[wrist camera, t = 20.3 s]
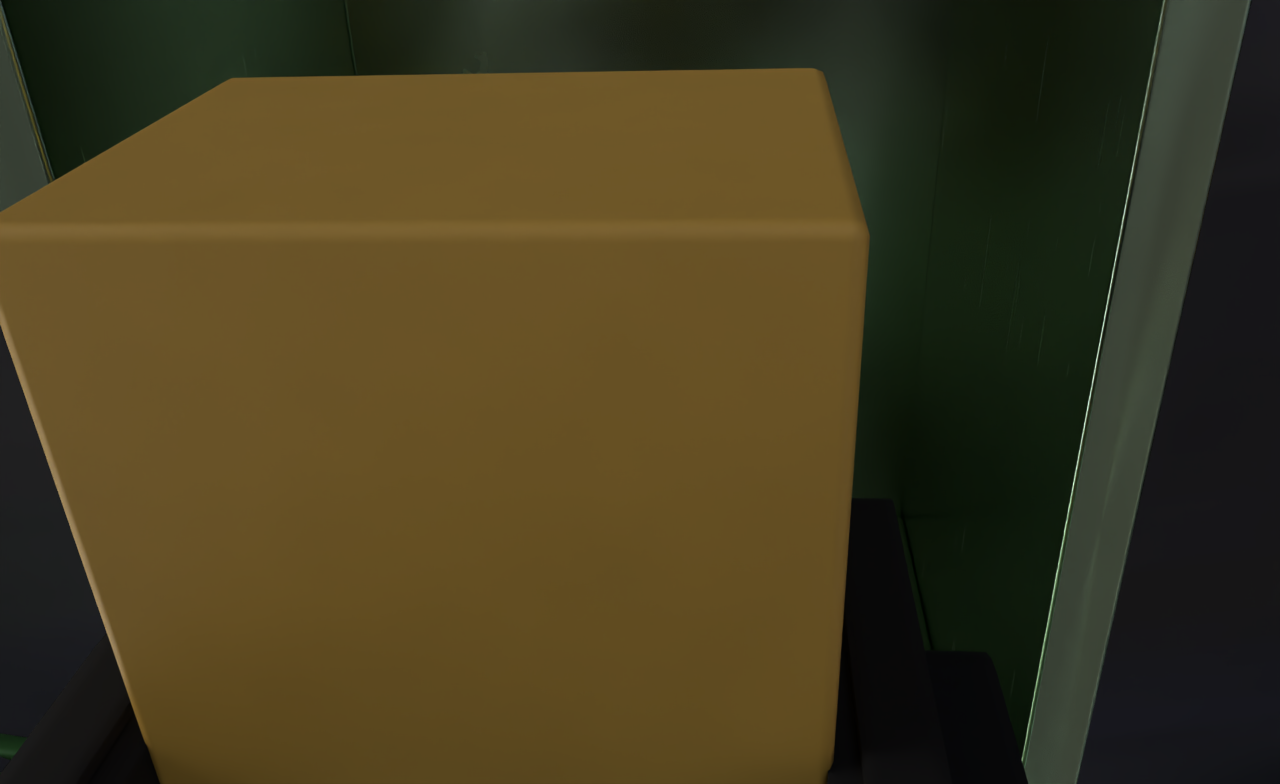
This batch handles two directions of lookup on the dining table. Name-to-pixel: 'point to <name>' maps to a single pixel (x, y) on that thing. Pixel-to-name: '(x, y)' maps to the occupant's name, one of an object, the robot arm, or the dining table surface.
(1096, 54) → the waste bin
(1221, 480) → the dining table surface
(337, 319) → the yellow rectangular block
